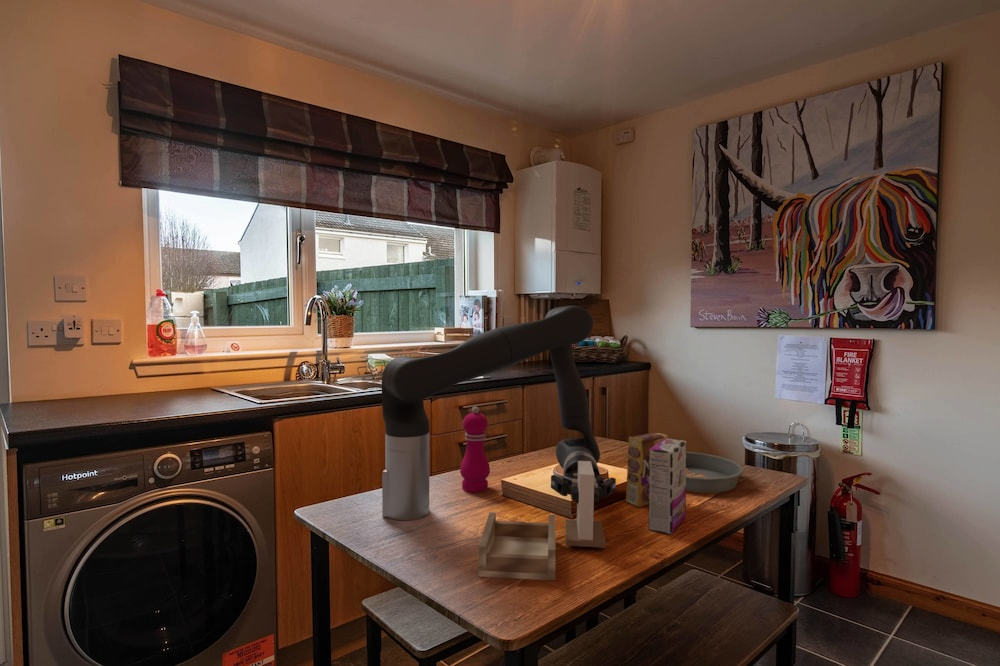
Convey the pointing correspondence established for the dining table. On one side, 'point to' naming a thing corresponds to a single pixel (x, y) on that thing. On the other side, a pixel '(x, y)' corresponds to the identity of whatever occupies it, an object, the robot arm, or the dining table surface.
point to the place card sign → (585, 513)
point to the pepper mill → (475, 453)
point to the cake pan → (711, 473)
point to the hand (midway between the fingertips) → (585, 498)
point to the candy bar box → (667, 485)
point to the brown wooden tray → (517, 549)
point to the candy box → (640, 467)
